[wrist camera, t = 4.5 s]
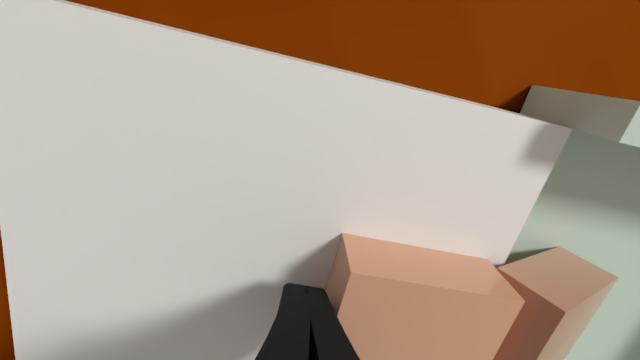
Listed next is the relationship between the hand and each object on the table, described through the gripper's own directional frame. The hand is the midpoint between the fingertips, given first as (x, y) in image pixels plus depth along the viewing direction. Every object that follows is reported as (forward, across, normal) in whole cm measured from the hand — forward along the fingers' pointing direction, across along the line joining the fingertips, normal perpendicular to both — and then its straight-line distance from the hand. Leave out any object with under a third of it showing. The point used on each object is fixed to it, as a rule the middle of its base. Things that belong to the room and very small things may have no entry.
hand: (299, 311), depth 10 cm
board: (+3, +1, 0) cm, 4 cm away
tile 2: (+1, -3, 0) cm, 4 cm away
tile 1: (+2, -8, 0) cm, 8 cm away
